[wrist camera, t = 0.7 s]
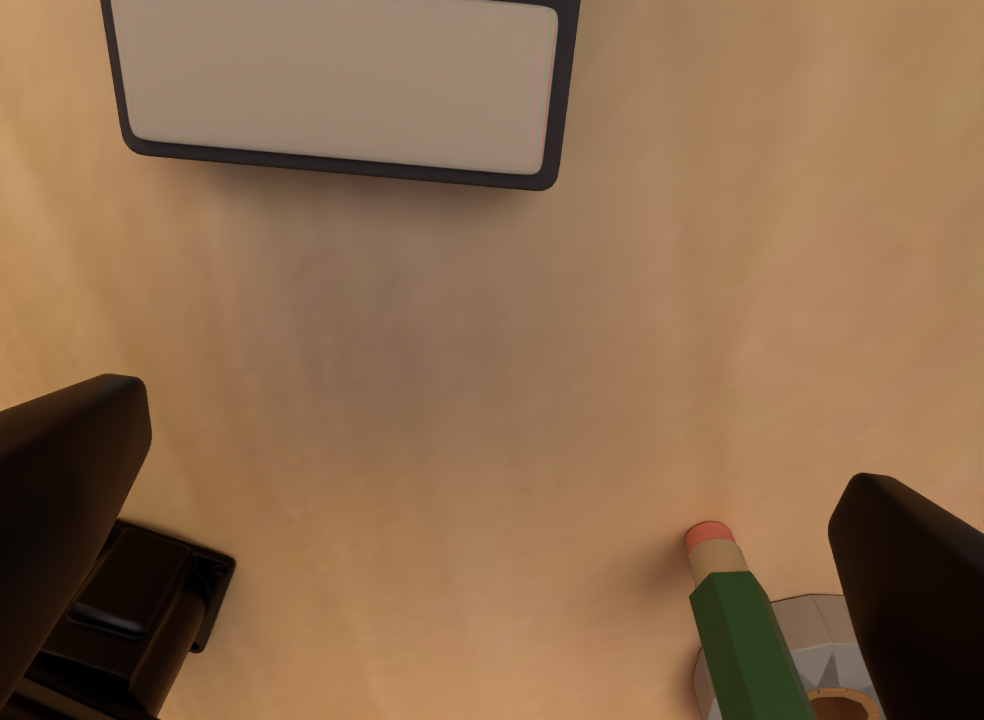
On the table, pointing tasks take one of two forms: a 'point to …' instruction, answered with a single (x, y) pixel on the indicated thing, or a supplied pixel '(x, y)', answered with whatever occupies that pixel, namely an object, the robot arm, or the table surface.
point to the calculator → (349, 85)
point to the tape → (814, 661)
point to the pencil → (741, 633)
